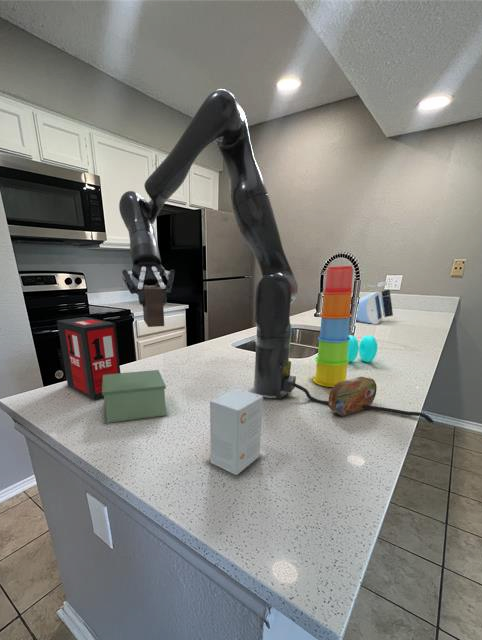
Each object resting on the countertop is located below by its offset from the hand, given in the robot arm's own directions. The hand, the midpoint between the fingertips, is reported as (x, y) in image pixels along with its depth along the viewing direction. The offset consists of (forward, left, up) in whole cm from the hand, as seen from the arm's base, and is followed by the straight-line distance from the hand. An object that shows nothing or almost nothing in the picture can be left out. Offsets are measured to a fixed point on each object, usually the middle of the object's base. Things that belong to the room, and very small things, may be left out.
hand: (153, 304), depth 80 cm
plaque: (+2, -1, -5) cm, 5 cm away
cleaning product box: (+22, +5, -26) cm, 35 cm away
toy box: (+1, +8, -26) cm, 27 cm away
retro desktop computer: (-25, -167, -26) cm, 171 cm away
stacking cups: (-35, -41, -26) cm, 60 cm away
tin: (-45, -23, -26) cm, 57 cm away
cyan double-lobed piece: (-37, -70, -26) cm, 83 cm away
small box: (-32, +13, -26) cm, 43 cm away
